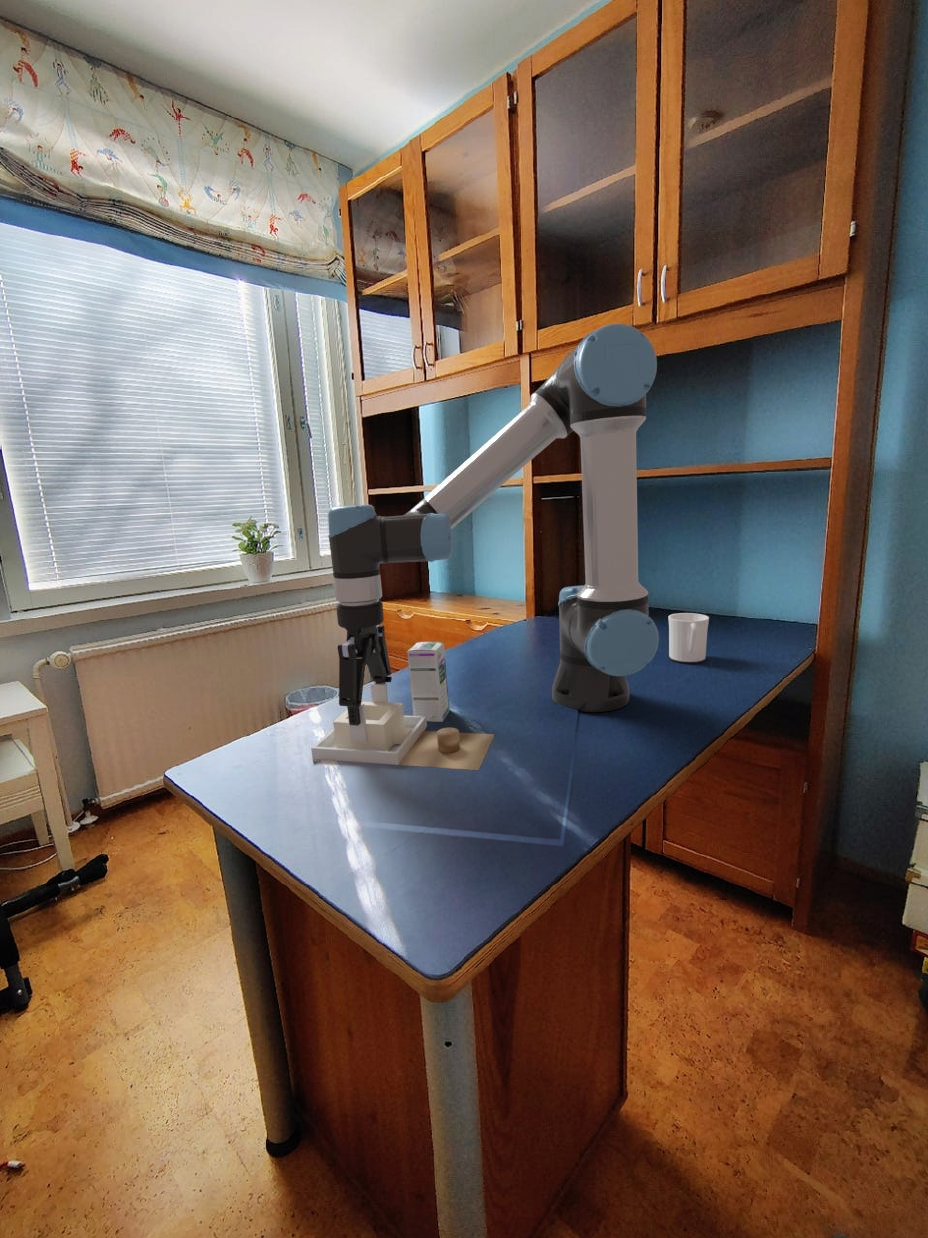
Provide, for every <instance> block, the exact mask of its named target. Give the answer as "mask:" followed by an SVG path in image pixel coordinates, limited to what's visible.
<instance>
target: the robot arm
mask: <svg viewBox="0 0 928 1238" xmlns="http://www.w3.org/2000/svg"><path fill="white" fill-rule="evenodd" d="M657 361H658V359H657V354H656V352H655V349H654V346H653V344H652V343H651V341H650V339H649V338H648V337H647V335H645V334H644V333H643V332H641V330H640V329H637V328H636V327H635V326H631V325H628V324H624V323H612V324H606V325H603V326H601V327H599V328H598V329H596V330H593V331H591V332H589V333H588V334H586V335H585V336H584V337H583V339H582V340H581V341H580V342H579V344H577V346H576V347H575V348H574V349H573V350H571V351H570V352H569V353H568V354H567V355H566V356H565V357H564V358H563V359H562V361H561V362H560V363H559V365H558V366H557V367H556V369H555V370H554V371H553V372H552V373H551V374H550V375H549V377H548V378H547V379H546V380H545V381H544V383H542V385H540V387H539V388H537V390H536V391H534V392H533V393H532V394H531V395H530V399H529V401H530V402H529V404H528V405H527V406H526V407H525V408H524V409H523V410H521V411H520V412H519V413H518V414H516V416H514V417H513V418H512V419H511V420H510V421H509V422H507V424H506V425H505V426H503V427H502V428H501V429H500V430H499V431H498V432H497V433H496V434H494V436H492V437H491V438H490V439H489V440H488V441H486V443H484V444H483V445H482V446H481V447H480V448H479V449H477V450H476V452H474V453H473V454H472V455H471V456H470V457H468V458H467V459H466V460H465V461H464V462H463V463H462V464H461V465H460V466H458V467H457V468H456V469H455V470H454V471H452V473H450V474H449V475H448V476H447V477H446V478H445V479H444V480H443V481H442V482H440V483H439V484H438V485H437V486H436V487H435V488H434V489H432V490H431V491H430V492H429V493H428V494H427V495H426V496H425V497H424V498H423V499H422V500H420V501H419V502H418V503H417V504H415V506H413V507H412V508H411V509H410V510H409V511H408V512H406V513H405V514H403V515H394V516H393V515H392V516H385V515H384V516H382V515H377V513H376V511H375V510H376V509H375V506H373V505H372V504H355V505H354V504H353V505H337V506H336V505H335V506H333V507H331V508H330V509H329V511H328V513H327V520H328V541H329V549H330V559H331V568H332V576H333V582H332V587H333V588H334V594H335V601H337V602H338V604H337V605H336V607H335V608H336V618H337V625H338V626H339V627H340V628H344V630H346V638H345V639H346V640H345V641H346V642H345V643H338V644H337V652H338V653H337V654H338V659H339V661H338V665H339V668H338V677H339V678H338V704H339V706H341V707H347V709H348V719H349V729H350V739H351V742H363V743H366V742H367V741H368V737H367V727H366V716H365V705H364V704H363V703H361V702H363V701H362V700H363V691H364V690H363V689H364V681H365V680H364V679H365V671H366V665H367V668H368V670H369V671H368V672H369V674H370V677H371V680H372V683H371V684H370V690H371V692H370V693H371V700H372V701H371V702H382V703H389V698H388V697H389V696H388V685H387V683H392V676H391V674H392V669H391V663H390V659H389V658H390V657H389V653H388V647H387V642H386V634H385V628H386V627H385V625H384V624H383V623H384V622H385V621H384V620H385V617H384V616H385V615H384V606H383V605H384V603H383V602H382V600H381V598H382V597H383V588H382V579H381V569H380V564H390V563H391V564H392V563H393V564H394V563H410V562H411V563H413V562H415V563H417V562H429V563H433V562H435V561H442V560H449V559H450V558H451V557H452V554H453V541H452V539H453V537H452V536H453V535H452V529H453V528H455V527H456V526H457V525H458V524H459V523H461V522H462V520H464V519H465V518H466V517H467V516H469V514H471V513H472V512H473V511H474V510H476V509H477V507H479V506H480V505H481V504H482V503H484V502H485V501H486V500H487V499H488V498H489V497H490V496H491V495H493V494H494V493H495V492H496V491H498V490H499V489H500V488H501V487H502V486H503V485H504V484H505V483H506V482H508V481H509V479H511V478H512V477H513V476H515V475H516V474H517V473H518V472H520V470H521V469H523V468H524V467H525V466H526V465H527V464H528V463H530V461H532V460H533V459H534V458H535V457H536V456H537V455H539V454H540V453H541V452H542V451H544V449H546V448H548V446H549V445H550V444H551V443H553V442H554V441H555V440H556V439H565V438H567V437H568V436H569V435H570V434H571V433H573V432H574V433H576V434H577V435H578V436H579V440H580V462H581V463H580V464H581V467H580V468H581V493H582V519H583V521H582V522H583V544H584V548H583V549H584V550H583V551H584V574H585V584H584V585H572V586H565V587H563V588H562V589H561V590H560V591H559V596H558V603H557V604H558V605H557V606H558V607H559V608H558V611H559V612H558V614H559V616H558V617H559V621H558V622H559V651H560V652H559V656H560V657H559V658H560V660H559V661H560V662H559V665H558V668H557V671H556V674H555V677H554V680H553V684H552V688H551V700H552V701H553V702H554V704H556V705H561V706H563V707H566V708H569V709H574V710H577V711H578V712H583V713H602V712H610V711H616V710H618V709H621V708H624V707H625V706H626V705H628V704H629V702H630V686H629V684H628V680H627V677H626V676H630V675H633V674H635V673H638V672H640V671H641V670H643V669H644V668H645V667H646V666H647V665H648V664H649V663H650V662H651V661H652V660H653V659H654V657H655V655H656V653H657V651H658V648H659V645H660V644H659V643H660V637H659V636H660V635H659V630H658V628H657V625H656V623H655V622H654V620H653V619H652V617H650V616H649V591H648V590H647V588H645V586H643V585H642V584H641V583H640V581H639V548H638V547H639V546H638V545H639V540H638V539H639V537H638V536H639V533H638V482H637V481H638V477H637V476H638V475H637V472H638V471H637V432H638V430H639V428H640V426H642V425H643V423H644V422H645V421H646V420H647V394H648V392H649V391H650V390H651V388H652V386H653V383H654V382H655V379H656V376H657V368H658V367H657V366H658V362H657ZM347 709H346V710H347Z"/></svg>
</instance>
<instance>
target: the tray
mask: <svg viewBox="0 0 928 1238" xmlns="http://www.w3.org/2000/svg"><path fill="white" fill-rule="evenodd" d="M404 723H405V727H408V728H412V731H411V732H410V734H409V735H408V736H407V737H406V739H405V740H404V741H403V742H402V744H393V745H392V747H391V748H390V749H389V751H377V750H361V749H345V748H336V741H335V733H334V727H333V728H332V729H331V730H329V732H327V733H326V734H325V735H324V736H323V737H322V738H321V739H320V740H318V742H316V743H315V744H314V745H313V746H312V747H311V757H312V762H313V763H319V762H320V761H321V760H322V761H334V762H335V761H337V762H351V763H366V764H379V765H381V764H382V765H394V766H396V765H397V766H400V765H399V763H400V762H401V760H402V759H403V758H404V756H405V755H406V754H407V752H408V751H409V750H410V748H411V747H412V746H413V744H414V743H415V742H416V740H417V739H418V738H419V736H420V735H421V734H422V732H423V731H426V729H427V727H428V721H427V718H426V716H413V715H404Z"/></svg>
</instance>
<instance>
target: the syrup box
mask: <svg viewBox="0 0 928 1238" xmlns="http://www.w3.org/2000/svg"><path fill="white" fill-rule="evenodd" d="M445 651H446V650H445V643H444V642H441V641H420V642H416V643H415V644H414V645H412V647H410V648H409V649H408V650H407V651H406V653H407V661H408V662H407V663H408V672H409V673H408V674H409V686H410V694H411V695H410V696H411V704H412V716H426V718H427V722H436V723H437V722H440V723H441V722H444V720H445V718H446V717H447V715H448V714H449V712H450V702H449V701H450V700H449V699H450V697H449V688H448V687H449V686H448V677H447V676H448V675H447V674H448V673H447V665H446V652H445Z"/></svg>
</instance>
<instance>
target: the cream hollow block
mask: <svg viewBox="0 0 928 1238" xmlns="http://www.w3.org/2000/svg"><path fill="white" fill-rule="evenodd" d="M361 703H363V704H364V705H365V716H366V727H367V737H368V741H367V742H366V743H363V742H351V739H350V729H349V719H348V709H345V710H344V711H343V712H342V713H341V714H339V716H338V717H336V719H335V720H334V721H332V722H333V723H332V724H333V728H334V733H335V741H336V748H345V749H361V750H377V751H389V749H390V748H391V747H392V745H393V744H402V742H403V741H404V740H405V739H406V737H407V736H408V735H409V734H410V732H411V731H412V728H408V727H405V723H404V703H402V702H388V703H382V702H372V701H362V702H361Z"/></svg>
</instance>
